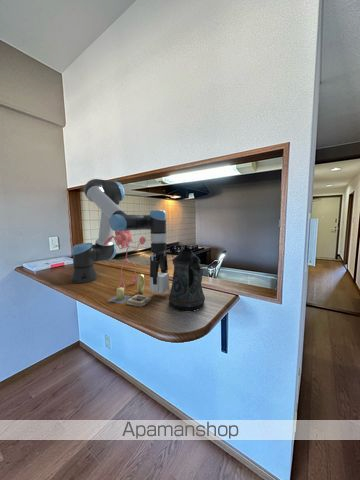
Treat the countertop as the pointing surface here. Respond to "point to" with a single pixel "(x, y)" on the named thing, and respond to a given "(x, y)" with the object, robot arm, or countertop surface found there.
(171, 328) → the countertop surface
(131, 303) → the socket board
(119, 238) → the pink flower stem
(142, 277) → the pin
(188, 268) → the beer stein
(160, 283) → the white block
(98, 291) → the countertop surface
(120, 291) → the peg plate
